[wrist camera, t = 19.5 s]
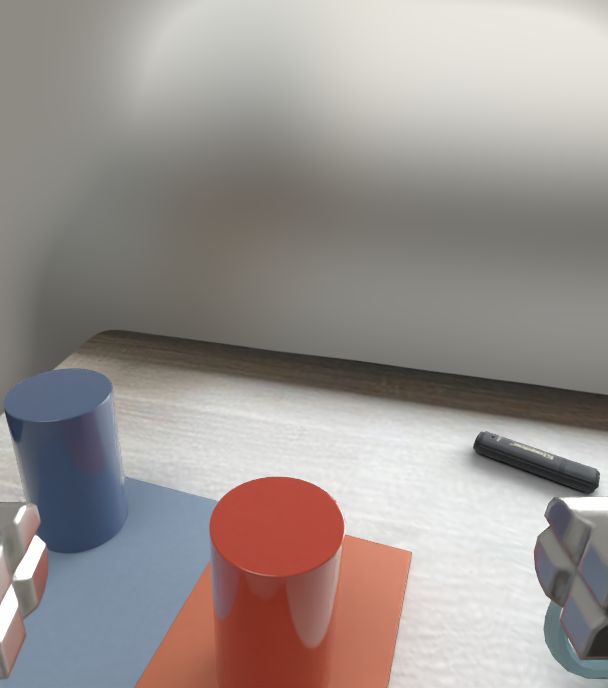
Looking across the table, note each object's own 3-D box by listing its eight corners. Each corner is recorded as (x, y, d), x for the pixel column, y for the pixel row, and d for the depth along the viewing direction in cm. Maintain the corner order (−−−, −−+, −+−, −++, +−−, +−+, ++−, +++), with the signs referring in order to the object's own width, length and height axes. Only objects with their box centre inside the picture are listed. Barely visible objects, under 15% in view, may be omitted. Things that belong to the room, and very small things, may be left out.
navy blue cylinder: (12, 539, 36) (-22, 408, 31) (73, 480, 41) (51, 361, 37) (92, 564, 34) (68, 430, 30) (145, 500, 40) (131, 378, 35)
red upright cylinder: (195, 701, 27) (184, 553, 23) (243, 601, 33) (241, 464, 28) (312, 743, 26) (325, 594, 21) (343, 632, 31) (358, 493, 27)
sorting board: (-209, 728, 26) (-212, 723, 26) (73, 466, 43) (72, 462, 43) (333, 984, 19) (334, 979, 19) (411, 556, 37) (411, 551, 36)
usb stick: (598, 481, 44) (604, 465, 43) (594, 500, 42) (599, 484, 41) (479, 439, 48) (483, 424, 48) (470, 454, 46) (473, 439, 46)
